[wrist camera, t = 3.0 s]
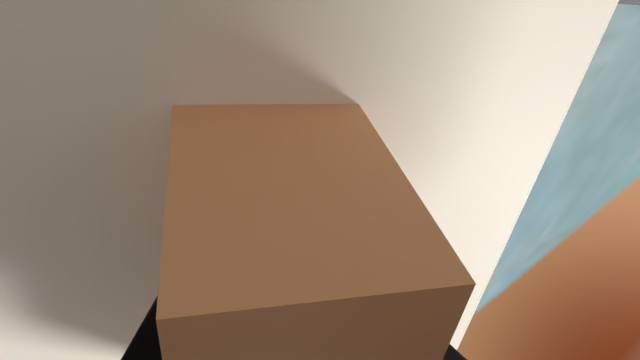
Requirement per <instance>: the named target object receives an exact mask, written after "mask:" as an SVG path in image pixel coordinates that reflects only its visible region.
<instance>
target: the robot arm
mask: <svg viewBox="0 0 640 360" xmlns="http://www.w3.org/2000/svg"><path fill="white" fill-rule="evenodd" d="M157 298H158V295H157V297H156V299H155V300H154V302H153V304H152V306H151V307H150V309H149V311H148V313H147V314H146V316H145V318H144V320H143V321H142V323H141V325H140V327H139V328H138V330H137V332H136V334H135V335H134V337H133V339H132V341H131V342H130V344H129V346H128V348H127V349H126V351H125V353H124V355H123V356H122V358H121V360H162V355H161V349H160V343H159V336H158V330H157V324H156V311H157ZM443 360H467V359H466V358H465V357H463V356H462V355H461V354H460V353H459V352H458V351H457V350H456V349H455V348H454V347H453V346H452V345H451V344H449V346H448V348H447V350H446V353H445V355H444V357H443Z"/></svg>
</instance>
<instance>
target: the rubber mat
mask: <svg viewBox="0 0 640 360" xmlns="http://www.w3.org/2000/svg"><path fill="white" fill-rule="evenodd" d="M618 4H632V5H640V0H619V2H618Z"/></svg>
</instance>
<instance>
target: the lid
mask: <svg viewBox="0 0 640 360" xmlns="http://www.w3.org/2000/svg"><path fill="white" fill-rule="evenodd" d="M618 2H619V0H0V360H121V358H122V356H123V355H124V353H125V351H126V349H127V348H128V346H129V344H130V342H131V341H132V339H133V337H134V335H135V334H136V332H137V330H138V328H139V327H140V325H141V323H142V321H143V320H144V318H145V316H146V314H147V313H148V311H149V309H150V307H151V306H152V304H153V302H154V300H155V299H156V297H157V295H158V298H157V311H156V324H157V330H158V336H159V343H160V349H161V355H162V360H443V357H444V355H445V353H446V350H447V348H448V346H449V344H451V345H452V346H453V347H454V348H455V349H456V350H457V349H458V346H459V344H460V342H461V340H462V338H463V336H464V334H465V332H466V329H467V327H468V325H469V323H470V321H471V319H472V316H473V314H474V312H475V310H476V308H477V306H478V303H479V301H480V299H481V297H482V295H483V293H484V291H485V288H486V286H487V284H488V282H489V280H490V278H491V275H492V273H493V271H494V269H495V267H496V265H497V263H498V260H499V258H500V256H501V254H502V252H503V250H504V247H505V245H506V243H507V241H508V239H509V237H510V235H511V232H512V230H513V228H514V226H515V224H516V222H517V219H518V217H519V215H520V213H521V211H522V209H523V206H524V204H525V202H526V200H527V198H528V196H529V194H530V191H531V189H532V187H533V185H534V183H535V181H536V178H537V176H538V174H539V172H540V170H541V168H542V166H543V163H544V161H545V159H546V157H547V155H548V153H549V150H550V148H551V146H552V144H553V142H554V140H555V138H556V135H557V133H558V131H559V129H560V127H561V125H562V122H563V120H564V118H565V116H566V114H567V112H568V109H569V107H570V105H571V103H572V101H573V99H574V97H575V94H576V92H577V90H578V88H579V86H580V84H581V81H582V79H583V77H584V75H585V73H586V71H587V69H588V66H589V64H590V62H591V60H592V58H593V56H594V53H595V51H596V49H597V47H598V45H599V43H600V41H601V38H602V36H603V34H604V32H605V30H606V28H607V25H608V23H609V21H610V19H611V17H612V15H613V12H614V10H615V8H616V6H617V4H618Z"/></svg>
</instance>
